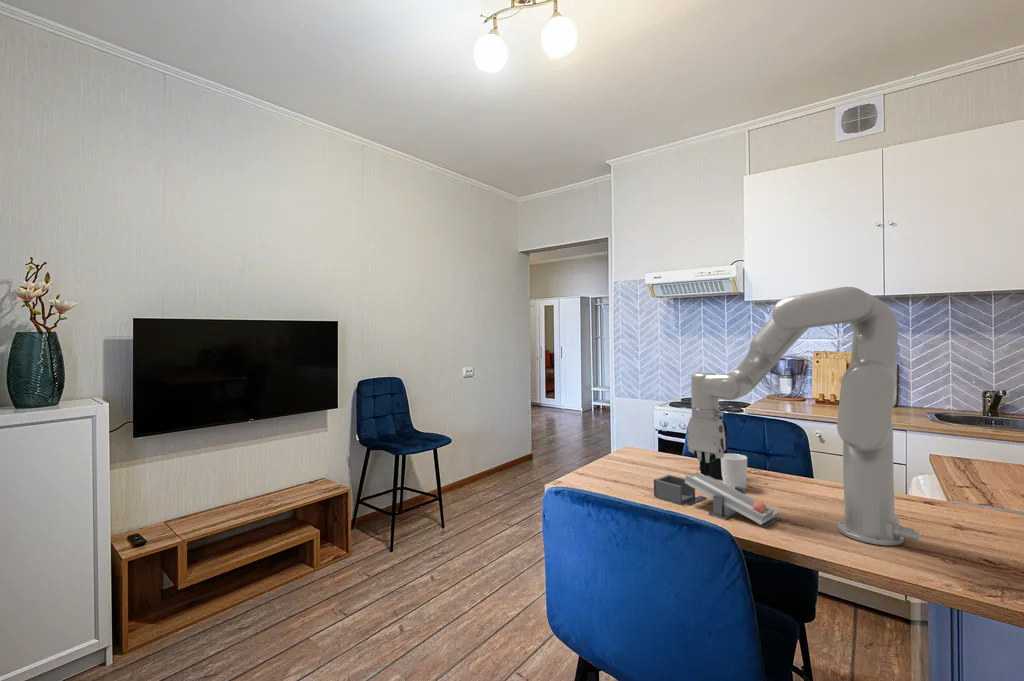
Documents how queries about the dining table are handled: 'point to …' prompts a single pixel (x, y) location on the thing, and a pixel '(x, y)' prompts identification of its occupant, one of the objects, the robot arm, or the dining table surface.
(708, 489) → the seesaw
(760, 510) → the ball
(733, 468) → the white cup
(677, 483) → the grey open cubby box
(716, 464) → the wine bottle
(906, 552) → the dining table surface
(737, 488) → the stand
